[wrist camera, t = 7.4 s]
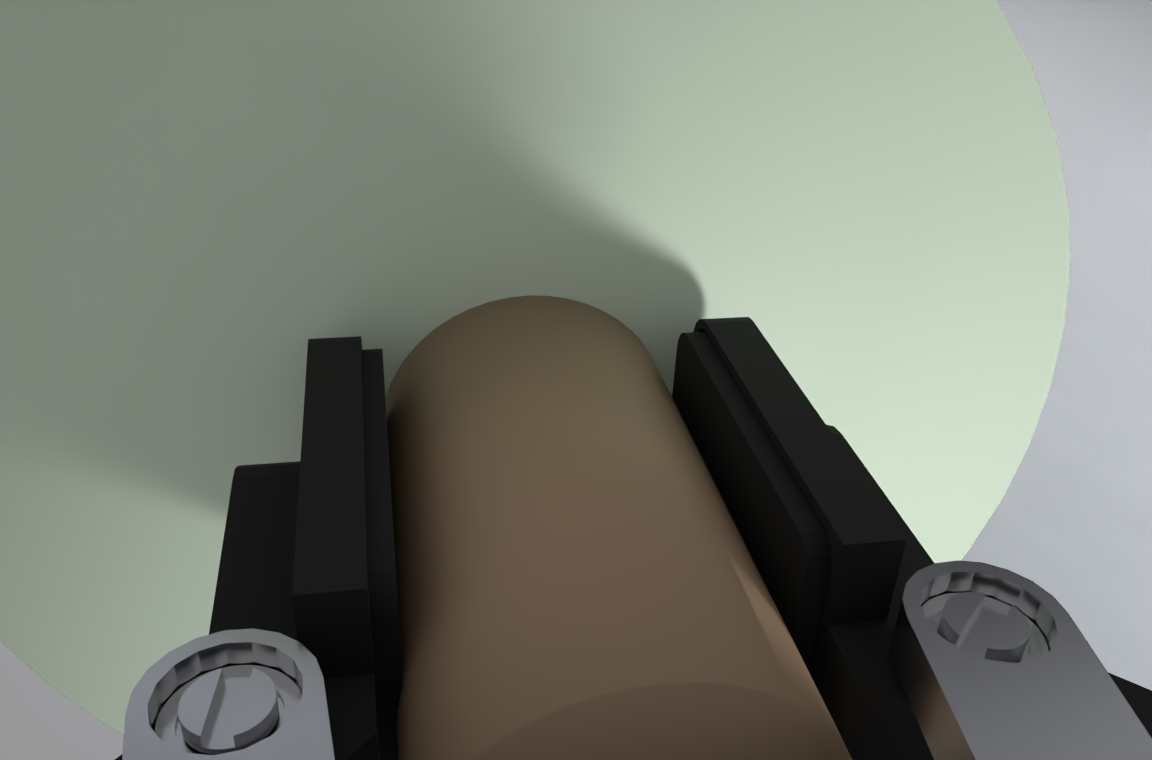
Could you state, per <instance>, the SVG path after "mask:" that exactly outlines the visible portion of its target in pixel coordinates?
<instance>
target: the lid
mask: <svg viewBox="0 0 1152 760" xmlns="http://www.w3.org/2000/svg"><path fill="white" fill-rule="evenodd" d="M1070 266H1071V262H1070V237H1069V211H1068V196H1067V191H1066V185H1065V180H1064V175H1063V169H1062V164H1061V159H1060V154H1059V148H1058V143H1057V138H1056V132H1055V129H1054V126H1053V123H1052V121H1051V118H1050V115H1049V112H1048V109H1047V106H1046V104H1045V101H1044V98H1043V95H1042V92H1041V89H1040V87H1039V84H1038V81H1037V78H1036V75H1035V72H1034V70H1033V67H1032V64H1031V62H1030V61H1029V59H1028V57H1027V55H1026V53H1025V51H1024V49H1023V48H1022V46H1021V44H1020V42H1019V40H1018V38H1017V37H1016V35H1015V33H1014V31H1013V29H1012V27H1011V25H1010V24H1009V22H1008V20H1007V18H1006V16H1005V14H1004V13H1003V11H1002V9H1001V7H1000V5H999V3H998V1H997V0H0V641H1V642H2V643H3V644H4V645H5V646H6V647H7V648H9V649H10V650H11V651H12V652H13V653H14V654H15V655H16V656H17V657H18V658H19V659H21V660H22V661H23V662H24V663H25V664H26V665H27V666H28V667H30V668H31V669H32V670H33V671H34V672H35V673H36V674H37V675H38V676H40V678H42V679H43V680H44V681H45V682H46V683H47V684H48V685H49V686H51V687H52V688H53V689H55V690H56V691H57V692H59V693H60V694H62V695H63V696H65V697H66V698H67V699H69V700H70V701H72V702H73V703H74V704H76V705H77V706H79V707H80V708H82V709H83V710H84V711H86V712H87V713H89V714H90V715H92V716H93V717H94V718H96V719H97V720H99V721H100V722H102V723H103V724H105V725H106V726H109V727H110V728H112V729H114V730H116V731H118V732H119V733H121V734H123V735H124V725H125V713H126V710H127V706H128V703H129V699H130V696H131V692H132V690H133V689H134V687H135V686H136V685H137V683H138V682H139V680H140V679H141V678H142V676H143V675H144V673H145V672H146V671H147V669H149V668H150V667H151V666H152V665H154V664H155V663H156V662H157V661H158V660H160V659H161V658H162V657H163V656H164V655H166V654H167V653H168V652H170V651H172V650H173V649H175V648H177V647H179V646H181V645H183V644H185V643H187V642H189V641H191V640H193V639H195V638H198V637H202V636H206V635H209V630H210V623H211V617H212V610H213V604H214V597H215V591H216V584H217V577H218V571H219V564H220V558H221V551H222V545H223V538H224V532H225V525H226V519H227V512H228V506H229V499H230V493H231V486H232V480H233V475H234V471H235V468H236V467H237V466H239V465H253V464H268V463H282V462H296V461H300V460H301V444H302V428H303V412H304V396H305V380H306V364H307V349H308V339H317V338H337V337H357V336H361V340H362V350H366V349H382V350H383V366H384V383H385V399H386V415H387V432H388V448H389V465H390V481H391V498H392V514H393V530H394V547H395V563H396V580H397V597H398V614H399V631H400V648H401V665H402V682H403V688H402V690H401V695H400V700H399V705H398V709H397V746H398V760H852V758H851V756H850V754H849V752H848V750H847V748H846V746H845V744H844V742H843V739H842V737H841V735H840V733H839V731H838V729H837V727H836V725H835V723H834V721H833V719H832V717H831V715H830V713H829V711H828V709H827V707H826V705H825V703H824V701H823V699H822V697H821V695H820V693H819V691H818V689H817V687H816V685H815V683H814V681H813V679H812V677H811V675H810V673H809V671H808V669H807V667H806V665H805V663H804V661H803V659H802V657H801V655H800V653H799V651H798V649H797V647H796V645H795V643H794V641H793V639H792V637H791V635H790V633H789V631H788V629H787V627H786V625H785V623H784V621H783V619H782V617H781V615H780V613H779V611H778V609H777V607H776V605H775V603H774V601H773V599H772V597H771V595H770V593H769V591H768V589H767V587H766V585H765V583H764V581H763V579H762V577H761V575H760V573H759V571H758V569H757V567H756V565H755V563H754V561H753V559H752V557H751V555H750V553H749V551H748V549H747V547H746V545H745V543H744V541H743V539H742V537H741V535H740V533H739V531H738V529H737V527H736V525H735V523H734V521H733V519H732V517H731V515H730V513H729V511H728V509H727V507H726V505H725V503H724V501H723V499H722V497H721V495H720V493H719V491H718V489H717V487H716V485H715V483H714V481H713V479H712V477H711V475H710V473H709V471H708V469H707V467H706V465H705V463H704V461H703V458H702V456H701V454H700V452H699V450H698V448H697V446H696V444H695V442H694V440H693V438H692V436H691V434H690V432H689V430H688V428H687V426H686V424H685V422H684V420H683V418H682V416H681V414H680V412H679V410H678V408H677V406H676V404H675V402H674V400H673V398H672V392H673V382H674V372H675V362H676V352H677V344H678V339H679V336H680V335H681V333H690V332H693V331H694V327H695V325H696V322H697V321H698V320H699V319H714V318H734V317H749V318H751V319H752V320H753V321H754V323H755V324H756V326H757V327H758V329H759V330H760V331H761V333H762V334H763V336H764V337H765V339H766V340H767V341H768V343H769V344H770V346H771V347H772V349H773V350H774V351H775V353H776V354H777V356H778V357H779V358H780V360H781V361H782V363H783V364H784V366H785V367H786V368H787V370H788V371H789V373H790V374H791V376H792V377H793V378H794V380H795V381H796V383H797V384H798V385H799V387H800V388H801V390H802V391H803V393H804V394H805V395H806V397H807V398H808V400H809V401H810V403H811V404H812V405H813V407H814V408H815V410H816V411H817V413H818V414H819V415H820V417H821V418H822V420H823V421H824V422H825V424H826V425H831V426H834V427H835V428H836V429H837V430H838V431H839V432H840V433H841V434H842V435H843V436H844V438H845V439H846V440H847V442H848V443H849V445H850V446H851V447H852V449H853V450H854V452H855V453H856V454H857V456H858V457H859V459H860V460H861V461H862V463H863V464H864V466H865V467H866V468H867V470H868V471H869V473H870V474H871V475H872V477H873V478H874V480H875V481H876V482H877V484H878V485H879V486H880V488H881V489H882V491H883V492H884V493H885V495H886V496H887V498H888V499H889V500H890V502H891V503H892V505H893V506H894V507H895V509H896V510H897V512H898V513H899V514H900V516H901V517H902V519H903V520H904V521H905V523H906V524H907V526H908V527H909V528H910V530H911V531H912V533H913V534H914V535H915V537H916V538H917V540H918V541H919V542H920V544H921V545H922V546H923V548H924V549H925V551H926V552H927V553H928V555H929V556H930V558H931V559H932V560H933V562H934V563H941V562H949V561H956V560H958V561H960V560H961V559H962V558H963V557H964V555H965V554H966V553H967V552H968V550H969V549H970V547H971V546H972V544H973V543H974V541H975V540H976V538H977V537H978V535H979V534H980V532H981V531H982V529H983V528H984V526H985V524H986V523H987V521H988V520H989V518H990V517H991V515H992V514H993V512H994V511H995V509H996V508H997V506H998V505H999V503H1000V502H1001V500H1002V498H1003V496H1004V494H1005V492H1006V490H1007V488H1008V486H1009V484H1010V482H1011V480H1012V478H1013V476H1014V474H1015V472H1016V470H1017V469H1018V467H1019V465H1020V463H1021V461H1022V459H1023V457H1024V455H1025V453H1026V451H1027V449H1028V447H1029V444H1030V442H1031V439H1032V436H1033V433H1034V431H1035V428H1036V425H1037V423H1038V420H1039V417H1040V415H1041V412H1042V409H1043V406H1044V404H1045V401H1046V398H1047V396H1048V393H1049V390H1050V387H1051V382H1052V378H1053V374H1054V370H1055V365H1056V361H1057V357H1058V353H1059V348H1060V344H1061V340H1062V336H1063V331H1064V326H1065V316H1066V306H1067V296H1068V286H1069V276H1070Z"/></svg>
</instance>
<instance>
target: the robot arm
mask: <svg viewBox="0 0 1152 760" xmlns="http://www.w3.org/2000/svg"><path fill="white" fill-rule="evenodd" d="M672 398H673V400H674V402H675V404H676V406H677V408H678V410H679V412H680V414H681V416H682V418H683V420H684V422H685V424H686V426H687V428H688V430H689V432H690V434H691V436H692V438H693V440H694V442H695V444H696V446H697V448H698V450H699V452H700V454H701V456H702V458H703V461H704V463H705V465H706V467H707V469H708V471H709V473H710V475H711V477H712V479H713V481H714V483H715V485H716V487H717V489H718V491H719V493H720V495H721V497H722V499H723V501H724V503H725V505H726V507H727V509H728V511H729V513H730V515H731V517H732V519H733V521H734V523H735V525H736V527H737V529H738V531H739V533H740V535H741V537H742V539H743V541H744V543H745V545H746V547H747V549H748V551H749V553H750V555H751V557H752V559H753V561H754V563H755V565H756V567H757V569H758V571H759V573H760V575H761V577H762V579H763V581H764V583H765V585H766V587H767V589H768V591H769V593H770V595H771V597H772V599H773V601H774V603H775V605H776V607H777V609H778V611H779V613H780V615H781V617H782V619H783V621H784V623H785V625H786V627H787V629H788V631H789V633H790V635H791V637H792V639H793V641H794V643H795V645H796V647H797V649H798V651H799V653H800V655H801V657H802V659H803V661H804V663H805V665H806V667H807V669H808V671H809V673H810V675H811V677H812V679H813V681H814V683H815V685H816V687H817V689H818V691H819V693H820V695H821V697H822V699H823V701H824V703H825V705H826V707H827V709H828V711H829V713H830V715H831V717H832V719H833V721H834V723H835V725H836V727H837V729H838V731H839V733H840V735H841V737H842V739H843V742H844V744H845V746H846V748H847V750H848V752H849V754H850V756H851V758H852V760H1152V691H1151V690H1149V689H1146V688H1144V687H1141V686H1139V685H1137V684H1134V683H1132V682H1129V681H1127V680H1125V679H1122V678H1120V677H1117V676H1115V675H1113V674H1110V673H1108V672H1107V671H1106V669H1105V668H1104V666H1103V665H1102V663H1101V662H1100V660H1099V659H1098V657H1097V656H1096V654H1095V653H1094V651H1093V650H1092V648H1091V647H1090V645H1089V644H1088V642H1087V641H1086V639H1085V638H1084V636H1083V635H1082V633H1081V632H1080V630H1079V629H1078V627H1077V626H1076V624H1075V623H1074V621H1073V620H1072V618H1071V617H1070V615H1069V614H1068V612H1067V611H1066V610H1065V609H1064V608H1063V607H1062V606H1061V604H1060V603H1059V602H1058V601H1057V600H1056V599H1055V598H1054V597H1053V596H1052V595H1051V594H1049V593H1048V592H1047V591H1045V590H1044V589H1042V588H1041V587H1040V586H1038V585H1037V584H1035V583H1034V582H1033V581H1031V580H1029V579H1027V578H1024V577H1022V576H1020V575H1018V574H1016V573H1014V572H1012V571H1009V570H1007V569H1003V568H1000V567H996V566H992V565H989V564H985V563H981V562H969V561H958V560H956V561H949V562H941V563H934V562H933V560H932V559H931V558H930V556H929V555H928V553H927V552H926V551H925V549H924V548H923V546H922V545H921V544H920V542H919V541H918V540H917V538H916V537H915V535H914V534H913V533H912V531H911V530H910V528H909V527H908V526H907V524H906V523H905V521H904V520H903V519H902V517H901V516H900V514H899V513H898V512H897V510H896V509H895V507H894V506H893V505H892V503H891V502H890V500H889V499H888V498H887V496H886V495H885V493H884V492H883V491H882V489H881V488H880V486H879V485H878V484H877V482H876V481H875V480H874V478H873V477H872V475H871V474H870V473H869V471H868V470H867V468H866V467H865V466H864V464H863V463H862V461H861V460H860V459H859V457H858V456H857V454H856V453H855V452H854V450H853V449H852V447H851V446H850V445H849V443H848V442H847V440H846V439H845V438H844V436H843V435H842V434H841V433H840V432H839V431H838V430H837V429H836V428H835V427H834V426H831V425H826V424H825V422H824V421H823V420H822V418H821V417H820V415H819V414H818V413H817V411H816V410H815V408H814V407H813V405H812V404H811V403H810V401H809V400H808V398H807V397H806V395H805V394H804V393H803V391H802V390H801V388H800V387H799V385H798V384H797V383H796V381H795V380H794V378H793V377H792V376H791V374H790V373H789V371H788V370H787V368H786V367H785V366H784V364H783V363H782V361H781V360H780V358H779V357H778V356H777V354H776V353H775V351H774V350H773V349H772V347H771V346H770V344H769V343H768V341H767V340H766V339H765V337H764V336H763V334H762V333H761V331H760V330H759V329H758V327H757V326H756V324H755V323H754V321H753V320H752V319H751V318H749V317H734V318H714V319H699V320H698V321H697V322H696V325H695V327H694V331H693V332H690V333H681V335H680V336H679V339H678V344H677V352H676V362H675V372H674V382H673V392H672ZM402 688H403V682H402V665H401V648H400V631H399V614H398V597H397V580H396V563H395V547H394V530H393V514H392V498H391V481H390V465H389V448H388V432H387V415H386V399H385V383H384V366H383V350H382V349H366V350H362V340H361V336H357V337H337V338H317V339H308V349H307V364H306V380H305V396H304V412H303V428H302V444H301V460H300V461H296V462H282V463H268V464H253V465H239V466H237V467H236V468H235V471H234V475H233V480H232V486H231V493H230V499H229V506H228V512H227V519H226V525H225V532H224V538H223V545H222V551H221V558H220V564H219V571H218V577H217V584H216V591H215V597H214V604H213V610H212V617H211V623H210V630H209V635H206V636H202V637H198V638H195V639H193V640H191V641H189V642H187V643H185V644H183V645H181V646H179V647H177V648H175V649H173V650H172V651H170V652H168V653H167V654H166V655H164V656H163V657H162V658H161V659H160V660H158V661H157V662H156V663H155V664H154V665H152V666H151V667H150V668H149V669H147V671H146V672H145V673H144V675H143V676H142V678H141V679H140V680H139V682H138V683H137V685H136V686H135V687H134V689H133V690H132V692H131V696H130V699H129V703H128V706H127V710H126V713H125V725H124V740H123V754H122V755H121V756H119V757H118V758H117V759H115V760H398V746H397V709H398V705H399V700H400V695H401V690H402Z"/></svg>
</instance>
